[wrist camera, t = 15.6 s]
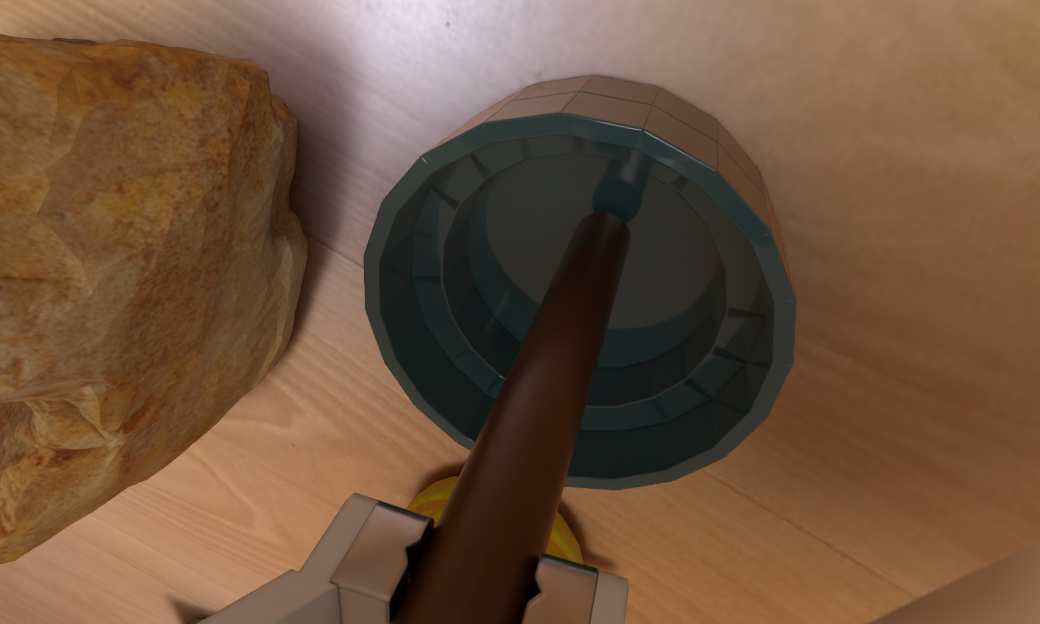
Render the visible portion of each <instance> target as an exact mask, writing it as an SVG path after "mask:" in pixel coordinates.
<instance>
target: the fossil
mask: <svg viewBox="0 0 1040 624" xmlns="http://www.w3.org/2000/svg"><path fill="white" fill-rule="evenodd" d="M202 620H203V619H196V620H194V621H192V622H190V623H189V624H197V623H199V622H200V621H202Z"/></svg>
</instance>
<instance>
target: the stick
mask: <svg viewBox="0 0 1040 624" xmlns="http://www.w3.org/2000/svg"><path fill="white" fill-rule="evenodd" d="M630 238H631V237H630V232H629V229H628V227H627V225H626V224H625V223H624V221H623V220H622V219H620V218H619V217H618V216H616V215H614V214H611V213H608V212H595V213H592V214H589V215H587V216H586V217H584V218H583V219H582V220H581V221H580V223H579V224H578V226H577V228H576V230H575V232H574V234H573V236H572V239H571V241H570V243H569V245H568V247H567V249H566V251H565V253H564V255H563V258H562V260H561V262H560V264H559V266H558V268H557V270H556V272H555V274H554V277H553V279H552V281H551V283H550V285H549V287H548V289H547V291H546V293H545V296H544V298H543V300H542V302H541V304H540V306H539V308H538V310H537V313H536V315H535V317H534V319H533V321H532V323H531V325H530V327H529V329H528V332H527V334H526V336H525V338H524V340H523V342H522V344H521V346H520V348H519V351H518V353H517V355H516V357H515V359H514V361H513V363H512V365H511V367H510V370H509V372H508V374H507V376H506V378H505V380H504V382H503V384H502V387H501V389H500V391H499V393H498V395H497V397H496V399H495V401H494V403H493V406H492V408H491V410H490V412H489V414H488V416H487V418H486V420H485V422H484V425H483V427H482V429H481V431H480V433H479V435H478V437H477V439H476V441H475V444H474V446H473V448H472V450H471V452H470V454H469V456H468V458H467V461H466V463H465V465H464V467H463V469H462V471H461V473H460V475H459V477H458V480H457V482H456V484H455V486H454V488H453V490H452V492H451V494H450V496H449V499H448V501H447V503H446V505H445V507H444V509H443V511H442V513H441V515H440V518H439V520H438V522H437V524H436V526H435V528H434V530H433V532H432V535H431V537H430V539H429V541H428V543H427V545H426V547H425V549H424V552H423V554H422V556H421V558H420V560H419V562H418V564H417V566H416V568H415V570H414V573H413V575H412V577H411V579H410V581H409V583H408V585H407V588H406V590H405V592H404V594H403V596H402V598H401V600H400V602H399V604H398V607H397V609H396V611H395V613H394V615H393V617H392V619H391V621H390V623H389V624H522V620H523V617H524V613H525V609H526V606H527V602H529V601H530V600H531V596H530V594H531V590H532V586H533V581H534V577H535V574H536V570H537V567H538V563H539V560H540V556H541V553H542V552H543V553H546V551H547V547H548V544H549V540H550V536H551V533H552V529H553V525H554V522H555V518H556V514H557V510H558V507H559V503H560V499H561V496H562V492H563V488H564V485H565V481H566V477H567V474H568V470H569V466H570V463H571V459H572V455H573V452H574V448H575V444H576V441H577V437H578V433H579V430H580V426H581V422H582V418H583V415H584V411H585V407H586V404H587V400H588V396H589V393H590V389H591V385H592V382H593V378H594V374H595V371H596V367H597V363H598V360H599V356H600V352H601V349H602V345H603V341H604V338H605V334H606V330H607V326H608V323H609V319H610V315H611V312H612V308H613V304H614V301H615V297H616V293H617V290H618V286H619V282H620V279H621V275H622V271H623V268H624V264H625V260H626V257H627V253H628V249H629V246H630Z"/></svg>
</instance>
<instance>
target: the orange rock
mask: <svg viewBox="0 0 1040 624" xmlns="http://www.w3.org/2000/svg"><path fill="white" fill-rule="evenodd" d="M296 154H297V121H296V119H295V118H294V116H293V115H292V113H291V112H290V110H289V108H288V106H287V104H286V103H285V101H284V99H283V98H281V97H277V96H274V95H271V92H270V84H269V77H268V72H267V71H265V70H264V69H263V68H261V67H260V66H258V65H257V64H256V63H254V62H253V61H251V60H250V59H236V58H228V57H223V56H218V55H213V54H209V53H205V52H202V51H198V50H194V49H189V48H181V47H167V46H163V45H158V44H154V43H149V42H142V41H133V40H123V39H121V40H117V41H113V42H109V43H105V44H101V45H99V44H97V43H94V42H92V41H90V40H77V39H62V38H54V39H52V40H43V39H31V38H19V37H12V36H7V35H2V34H0V564H3V563H7V562H11V561H15V560H17V559H18V558H19V557H21V556H23V555H24V554H26V553H28V552H29V551H31V550H32V549H34V548H36V547H37V546H39V545H41V544H42V543H44V542H46V541H47V540H48V539H50V538H51V537H53V536H54V535H56V534H57V533H59V532H60V531H62V530H63V529H65V528H66V527H68V526H69V525H71V524H73V523H74V522H76V521H78V520H79V519H81V518H83V517H85V516H86V515H88V514H90V513H92V512H93V511H95V510H96V509H98V508H99V507H101V506H102V505H104V504H105V503H106V502H108V501H109V500H111V499H112V498H114V497H115V496H116V495H118V494H119V493H120V492H122V491H123V490H125V489H126V488H127V487H129V486H132V485H134V484H137V483H139V482H142V481H144V480H147V479H148V478H150V477H151V476H153V475H154V474H156V473H157V472H158V471H160V470H161V469H163V468H164V467H166V466H167V465H168V464H169V463H171V462H172V461H173V460H174V459H176V458H177V457H178V456H180V455H181V454H182V453H183V452H184V451H185V450H186V449H188V448H189V447H190V446H191V445H192V444H193V443H194V442H196V441H197V440H198V439H199V438H200V437H202V436H203V435H204V434H205V433H206V432H208V431H209V430H210V429H211V428H212V427H213V426H214V425H216V424H217V423H218V422H219V421H220V419H221V418H222V417H223V416H224V415H225V414H226V413H227V412H228V411H229V410H230V409H231V408H232V407H233V406H234V404H235V403H236V402H237V401H238V400H239V399H240V398H242V397H243V396H244V395H245V394H247V393H248V392H249V391H250V390H251V389H252V388H254V387H255V386H257V385H258V384H259V383H260V382H261V381H262V380H263V379H264V377H265V376H266V375H267V374H268V373H269V372H270V371H271V370H272V368H273V367H274V366H275V365H276V364H277V362H278V360H279V358H280V357H281V355H282V353H283V352H284V350H285V348H286V346H287V344H288V341H289V339H290V336H291V334H292V331H293V324H294V319H295V310H296V306H297V303H298V300H299V295H300V290H301V284H302V279H303V275H304V271H305V268H306V265H307V261H308V260H307V239H306V238H305V237H304V235H303V231H302V227H301V224H300V220H299V219H298V218H297V217H296V215H295V214H294V213H293V212H292V211H291V210H290V203H289V189H290V186H291V183H292V180H293V177H294V173H295V165H296Z"/></svg>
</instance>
